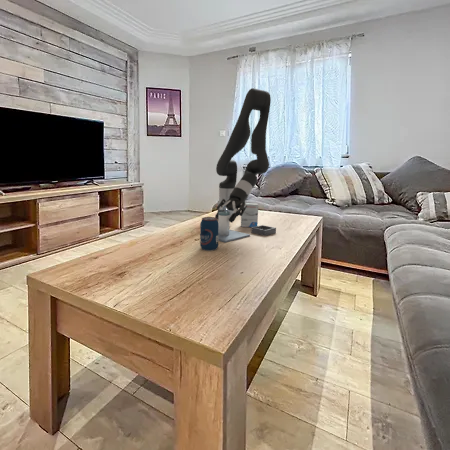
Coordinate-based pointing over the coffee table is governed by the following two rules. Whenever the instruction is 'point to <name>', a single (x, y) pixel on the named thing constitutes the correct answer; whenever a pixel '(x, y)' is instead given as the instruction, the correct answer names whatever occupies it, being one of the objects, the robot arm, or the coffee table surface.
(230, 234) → the slate board
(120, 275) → the coffee table surface
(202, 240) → the soda can
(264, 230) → the sleeve
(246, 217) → the ink box
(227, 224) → the ball
